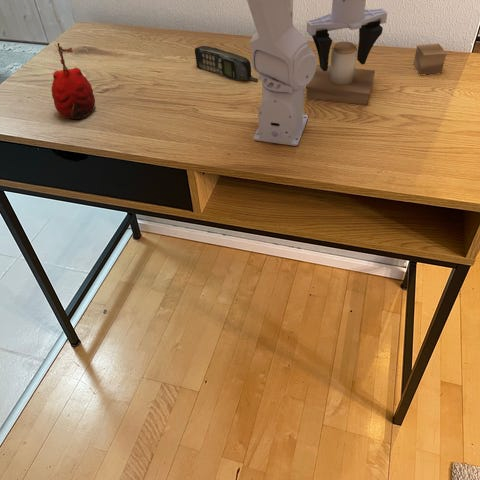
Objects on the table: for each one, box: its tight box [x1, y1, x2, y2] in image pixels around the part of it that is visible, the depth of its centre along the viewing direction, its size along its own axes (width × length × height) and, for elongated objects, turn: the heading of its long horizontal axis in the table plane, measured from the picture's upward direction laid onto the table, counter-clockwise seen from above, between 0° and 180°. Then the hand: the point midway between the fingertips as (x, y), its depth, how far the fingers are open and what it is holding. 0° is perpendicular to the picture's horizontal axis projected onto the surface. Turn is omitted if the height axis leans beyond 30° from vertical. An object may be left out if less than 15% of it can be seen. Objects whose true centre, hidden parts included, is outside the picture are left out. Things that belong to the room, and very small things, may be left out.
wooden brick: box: [305, 64, 376, 106], centre depth 99 cm, size 9×12×2 cm
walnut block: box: [412, 43, 447, 76], centre depth 103 cm, size 4×4×4 cm
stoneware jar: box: [329, 41, 358, 85], centre depth 96 cm, size 5×5×6 cm
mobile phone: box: [194, 45, 259, 82], centre depth 105 cm, size 5×3×15 cm
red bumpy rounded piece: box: [50, 42, 96, 120], centre depth 93 cm, size 8×7×15 cm
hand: (342, 65), depth 96 cm, fingers open, 7 cm apart
